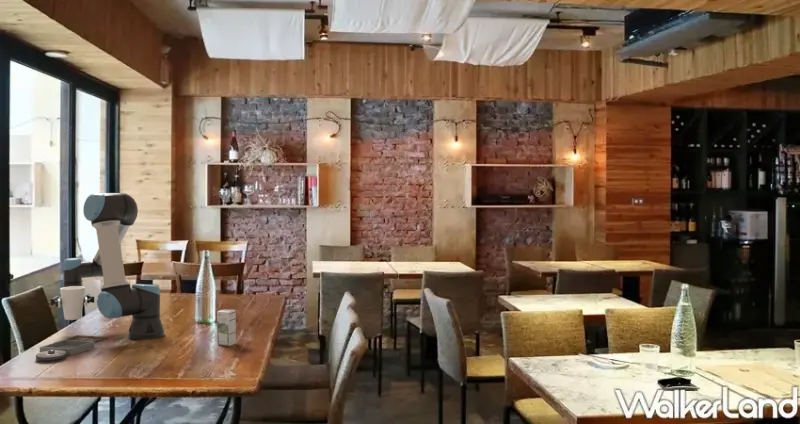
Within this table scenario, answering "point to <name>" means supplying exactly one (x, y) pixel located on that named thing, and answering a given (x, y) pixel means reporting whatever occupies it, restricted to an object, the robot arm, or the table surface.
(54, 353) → the metal pot lid
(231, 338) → the syrup box
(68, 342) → the tray
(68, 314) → the foam cup
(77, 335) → the square wooden frame
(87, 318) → the table surface
